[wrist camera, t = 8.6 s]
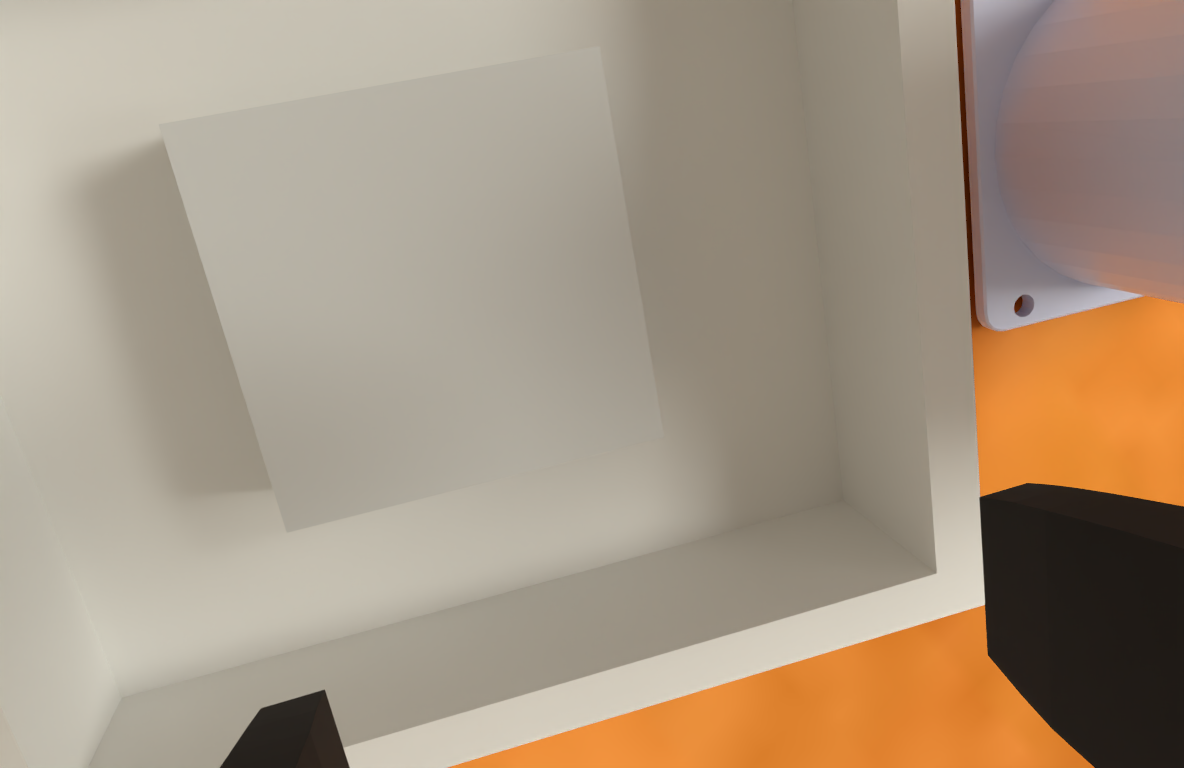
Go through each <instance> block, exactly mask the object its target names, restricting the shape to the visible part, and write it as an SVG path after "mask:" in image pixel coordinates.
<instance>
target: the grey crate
mask: <svg viewBox="0 0 1184 768" xmlns="http://www.w3.org/2000/svg"><path fill="white" fill-rule="evenodd" d="M979 497H980V485H979V466H978V446H977V427H976V407H975V388H974V368H973V349H972V329H971V310H970V290H969V271H968V251H967V231H966V212H965V192H964V173H963V153H962V134H961V114H960V95H959V75H958V56H957V36H956V16H955V0H0V768H220V766H221V765H222V764H223V762H224V761H225V759H226V758H227V756H228V755H229V753H230V752H231V750H232V749H233V747H234V746H235V744H236V743H237V741H238V740H239V738H240V737H241V736H242V734H243V733H244V731H245V730H246V728H247V727H248V725H249V724H250V722H251V721H252V720H253V718H254V717H255V716H256V714H257V713H258V712H259V710H260V709H261V708H263V707H267V706H270V705H274V704H277V703H280V702H284V701H287V700H291V699H294V698H298V697H301V696H304V695H308V694H311V693H315V692H318V691H321V690H325V691H326V695H327V698H328V701H329V704H330V707H331V710H332V714H333V717H334V720H335V723H336V726H337V729H338V732H339V736H340V739H341V742H342V745H343V748H344V751H345V755H346V758H347V761H348V764H349V767H350V768H447V767H450V766H454V765H457V764H460V763H464V762H467V761H470V760H474V759H477V758H480V757H483V756H487V755H490V754H493V753H497V752H500V751H503V750H507V749H510V748H513V747H516V746H520V745H523V744H526V743H530V742H533V741H536V740H540V739H543V738H546V737H549V736H553V735H556V734H559V733H563V732H566V731H569V730H573V729H576V728H579V727H583V726H586V725H589V724H592V723H596V722H599V721H602V720H606V719H609V718H612V717H616V716H619V715H622V714H625V713H629V712H632V711H635V710H639V709H642V708H645V707H649V706H652V705H655V704H659V703H662V702H665V701H668V700H672V699H675V698H678V697H682V696H685V695H688V694H692V693H695V692H698V691H701V690H705V689H708V688H711V687H715V686H718V685H721V684H725V683H728V682H731V681H734V680H738V679H741V678H744V677H748V676H751V675H754V674H758V673H761V672H764V671H768V670H771V669H774V668H777V667H781V666H784V665H787V664H791V663H794V662H797V661H801V660H804V659H807V658H810V657H814V656H817V655H820V654H824V653H827V652H830V651H834V650H837V649H840V648H844V647H847V646H850V645H853V644H857V643H860V642H863V641H867V640H870V639H873V638H877V637H880V636H883V635H886V634H890V633H893V632H896V631H900V630H903V629H906V628H910V627H913V626H916V625H919V624H923V623H926V622H929V621H933V620H936V619H939V618H943V617H946V616H949V615H953V614H956V613H959V612H962V611H966V610H969V609H972V608H976V607H979V606H982V605H985V593H984V574H983V556H982V537H981V519H980V501H979Z"/></svg>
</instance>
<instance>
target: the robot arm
mask: <svg viewBox="0 0 1184 768" xmlns="http://www.w3.org/2000/svg"><path fill="white" fill-rule="evenodd" d="M961 18H962V38H963V58H964V79H965V99H966V119H967V140H968V160H969V180H970V201H971V221H972V241H973V261H974V282H975V302H976V315H977V319H978V321H979V322H980V323H981V325H982V326H984V327H986V328H988V329H991V330H995V331H1006V330H1010V329H1014V328H1018V327H1022V326H1026V325H1030V324H1034V323H1038V322H1042V321H1046V320H1050V319H1054V318H1058V317H1062V316H1066V315H1070V314H1074V313H1078V312H1082V311H1087V310H1091V309H1095V308H1099V307H1103V306H1107V305H1111V304H1115V303H1119V302H1123V301H1127V300H1131V299H1135V298H1139V297H1143V296H1149V297H1154V298H1159V299H1164V300H1169V301H1174V302H1179V303H1184V0H961ZM1020 296H1022V299H1023V302H1022V307H1021V308H1020V309H1019V311H1018V312H1016V313H1015V311H1014V305H1015V302H1016V300H1017V299H1018V298H1019V297H1020ZM979 501H980V519H981V537H982V556H983V574H984V593H985V611H986V629H987V648H988V656H989V657H990V658H991V659H992V660H993V662H994V663H995V664H996V665H997V666H998V667H999V669H1000V670H1001V671H1002V672H1003V673H1004V675H1005V676H1006V677H1007V678H1008V679H1009V681H1010V682H1011V683H1012V684H1013V685H1014V687H1015V688H1016V689H1017V690H1018V691H1019V692H1020V694H1021V695H1022V696H1023V697H1024V698H1025V699H1026V700H1027V701H1028V703H1029V704H1030V705H1031V706H1032V707H1033V708H1034V709H1035V710H1036V711H1037V712H1038V714H1039V715H1040V716H1041V717H1042V718H1043V719H1044V720H1045V721H1046V722H1047V723H1048V725H1049V726H1050V727H1051V728H1052V729H1053V730H1054V731H1055V732H1056V733H1058V734H1059V735H1060V736H1061V737H1062V738H1063V739H1064V740H1065V741H1066V742H1067V743H1068V744H1069V745H1070V746H1072V747H1073V748H1074V749H1075V750H1076V751H1077V752H1078V753H1079V754H1080V755H1082V756H1083V757H1084V758H1085V759H1086V760H1087V761H1088V762H1089V763H1091V764H1092V765H1093V766H1094V767H1095V768H1184V507H1183V506H1177V505H1172V504H1166V503H1161V502H1155V501H1150V500H1144V499H1139V498H1133V497H1128V496H1122V495H1116V494H1111V493H1104V492H1098V491H1092V490H1086V489H1079V488H1072V487H1064V486H1055V485H1045V484H1032V483H1026V484H1023V485H1020V486H1016V487H1013V488H1009V489H1006V490H1003V491H999V492H996V493H992V494H989V495H986V496H982V497H979ZM220 768H350V767H349V764H348V761H347V758H346V755H345V751H344V748H343V745H342V742H341V739H340V736H339V732H338V729H337V726H336V723H335V720H334V717H333V714H332V710H331V707H330V704H329V701H328V698H327V695H326V691H325V690H321V691H318V692H315V693H311V694H308V695H304V696H301V697H298V698H294V699H291V700H287V701H284V702H280V703H277V704H274V705H270V706H267V707H263V708H261V709H260V710H259V712H258V713H257V714H256V716H255V717H254V718H253V720H252V721H251V722H250V724H249V725H248V727H247V728H246V730H245V731H244V733H243V734H242V736H241V737H240V738H239V740H238V741H237V743H236V744H235V746H234V747H233V749H232V750H231V752H230V753H229V755H228V756H227V758H226V759H225V761H224V762H223V764H222V765H221V766H220Z"/></svg>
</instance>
